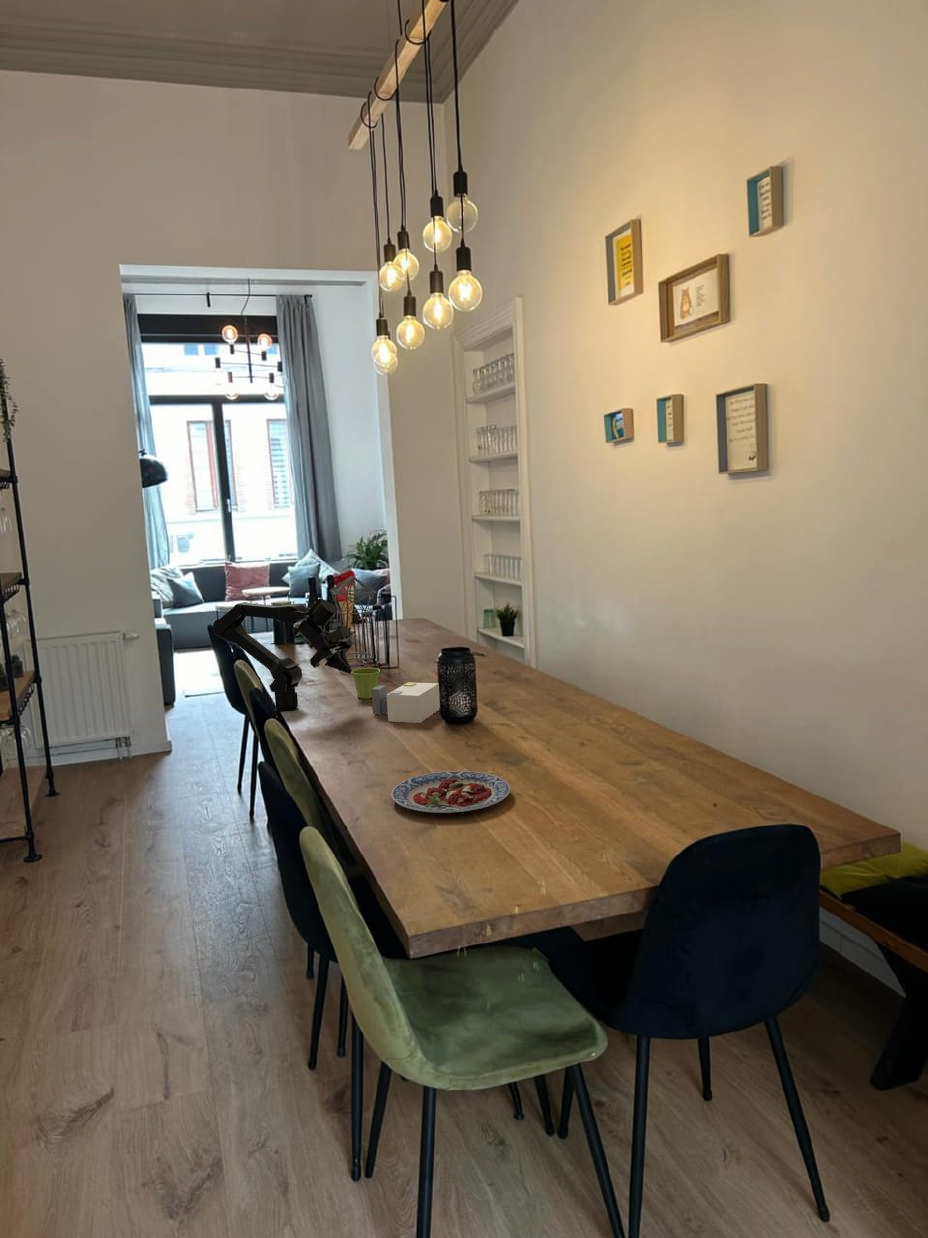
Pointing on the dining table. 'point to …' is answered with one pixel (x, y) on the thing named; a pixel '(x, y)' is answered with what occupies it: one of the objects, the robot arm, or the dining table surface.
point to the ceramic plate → (450, 791)
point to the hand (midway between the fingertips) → (350, 672)
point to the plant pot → (365, 681)
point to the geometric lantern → (334, 592)
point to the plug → (379, 700)
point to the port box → (413, 702)
